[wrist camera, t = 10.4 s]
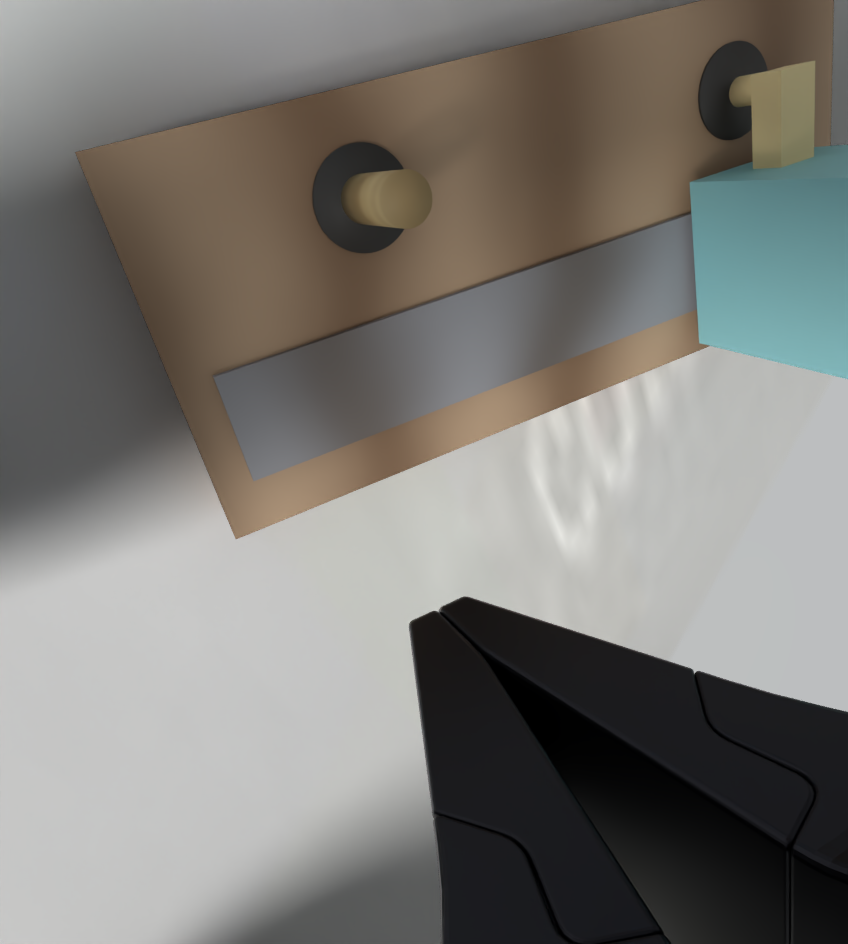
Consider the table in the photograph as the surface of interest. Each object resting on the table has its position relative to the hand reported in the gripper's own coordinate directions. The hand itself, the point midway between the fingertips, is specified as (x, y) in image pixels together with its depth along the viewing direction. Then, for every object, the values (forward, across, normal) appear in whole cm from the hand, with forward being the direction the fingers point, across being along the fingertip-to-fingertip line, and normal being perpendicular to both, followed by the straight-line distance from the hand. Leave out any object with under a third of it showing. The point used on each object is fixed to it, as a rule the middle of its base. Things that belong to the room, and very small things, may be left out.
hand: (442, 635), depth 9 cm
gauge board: (+13, -9, -2) cm, 16 cm away
